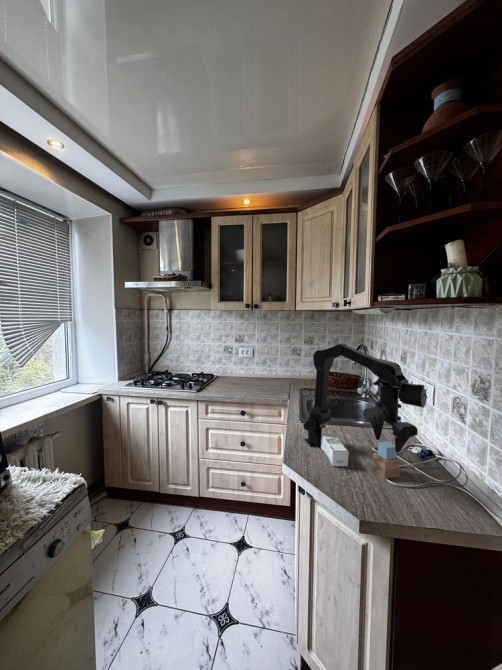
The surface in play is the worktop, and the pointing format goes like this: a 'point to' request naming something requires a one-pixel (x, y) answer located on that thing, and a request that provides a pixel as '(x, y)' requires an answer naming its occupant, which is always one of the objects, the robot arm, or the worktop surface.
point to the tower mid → (385, 462)
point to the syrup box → (334, 450)
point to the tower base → (386, 473)
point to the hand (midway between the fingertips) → (387, 445)
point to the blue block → (387, 450)
